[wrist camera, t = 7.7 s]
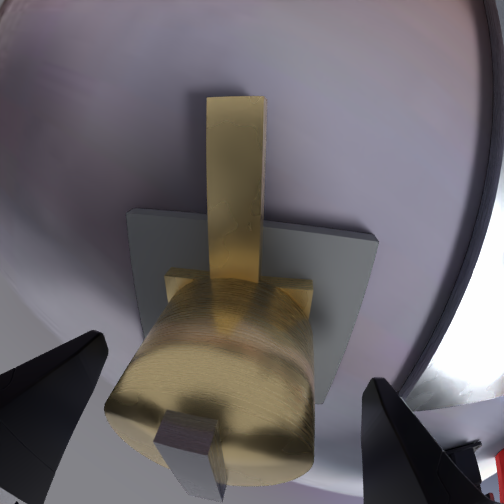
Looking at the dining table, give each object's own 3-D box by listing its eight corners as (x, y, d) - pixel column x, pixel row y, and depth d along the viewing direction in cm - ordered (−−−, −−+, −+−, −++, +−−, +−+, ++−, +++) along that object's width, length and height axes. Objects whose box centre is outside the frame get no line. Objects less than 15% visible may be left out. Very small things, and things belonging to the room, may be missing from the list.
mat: (322, 394, 12) (322, 404, 11) (158, 367, 12) (153, 376, 12) (373, 234, 8) (378, 241, 8) (134, 208, 9) (126, 213, 9)
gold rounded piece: (302, 381, 11) (293, 512, 5) (180, 365, 11) (130, 479, 6) (339, 105, 6) (456, 50, 1) (153, 105, 7) (-27, 111, 2)
